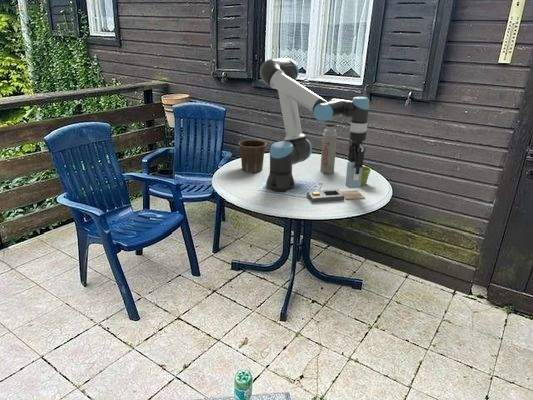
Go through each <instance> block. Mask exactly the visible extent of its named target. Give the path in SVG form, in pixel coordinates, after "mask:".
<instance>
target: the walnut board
mask: <svg viewBox="0 0 533 400" xmlns="http://www.w3.org/2000/svg"><path fill="white" fill-rule="evenodd" d="M339 191H340V190H339ZM340 192H341V193H342V194H343V195H344V201H345V200H346V201H353V200H366V197H365V196H364V195H363V194H362V193H361V192H360V191H358V190H343V191H340Z"/></svg>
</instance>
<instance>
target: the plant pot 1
mask: <svg viewBox="0 0 533 400" xmlns="http://www.w3.org/2000/svg"><path fill="white" fill-rule="evenodd" d="M238 145H239V151H240V159H241V170H242V171H243V172H246V173H248V174H249V173H250V174H251V173H254V174H255V173H260V172H262V171H263V168H264V160H265V151H266V146H267V142H265V141H263V140H258V139H245V140H241V141H239V142H238Z"/></svg>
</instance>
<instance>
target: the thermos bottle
mask: <svg viewBox="0 0 533 400" xmlns="http://www.w3.org/2000/svg"><path fill="white" fill-rule="evenodd" d="M337 139H338V133H337V130H336V124H335V123H326V125H325V129H324V130H323V133H322V139H321V140H322V141H321V142H322V143H321V155H320V171H319V172H321V173H323V174H333V173H334V172H335V163H336V162H335V161H336V153H337V141H338V140H337Z"/></svg>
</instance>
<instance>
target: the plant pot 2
mask: <svg viewBox="0 0 533 400" xmlns="http://www.w3.org/2000/svg"><path fill="white" fill-rule="evenodd" d="M371 171H372V168H370V167H368V166H365V165H363V168H362V177H361V187H362V186H366V185H367V183H368V179H369V175H370V172H371Z"/></svg>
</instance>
